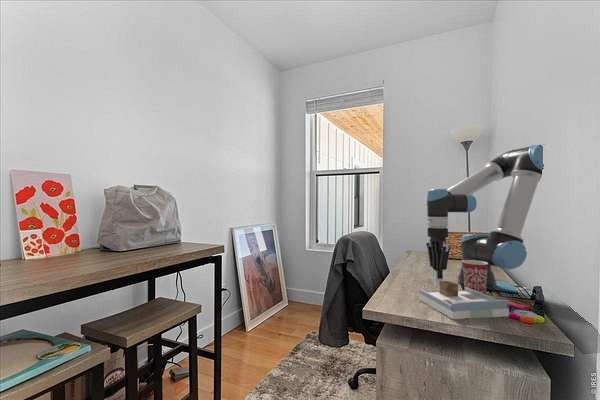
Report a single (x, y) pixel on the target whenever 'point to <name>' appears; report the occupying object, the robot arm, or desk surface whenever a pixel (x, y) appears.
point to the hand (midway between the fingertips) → (438, 286)
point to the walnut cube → (448, 288)
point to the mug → (475, 275)
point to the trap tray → (466, 304)
